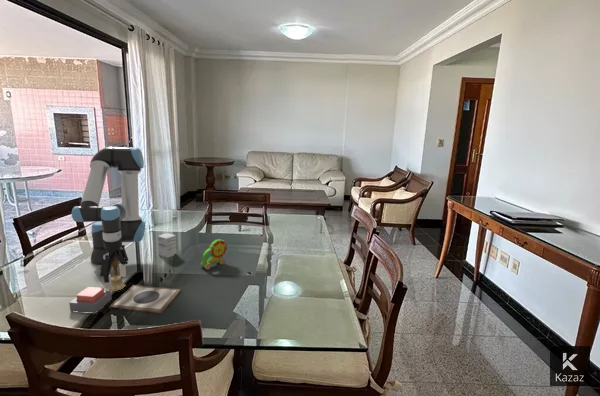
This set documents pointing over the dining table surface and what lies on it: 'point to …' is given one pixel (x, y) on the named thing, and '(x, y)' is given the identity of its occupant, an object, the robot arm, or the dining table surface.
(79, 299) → the button
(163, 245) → the supplement box
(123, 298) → the drawing board
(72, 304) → the button housing
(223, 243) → the toy lion
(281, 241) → the dining table surface
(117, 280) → the hand bell
